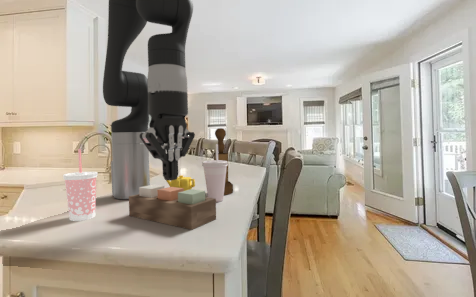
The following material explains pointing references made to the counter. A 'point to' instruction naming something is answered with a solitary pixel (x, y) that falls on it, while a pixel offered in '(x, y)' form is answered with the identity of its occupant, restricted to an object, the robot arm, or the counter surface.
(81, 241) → the counter surface
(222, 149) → the mortar and pestle
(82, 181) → the beverage cup
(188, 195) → the sage key
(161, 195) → the terracotta key
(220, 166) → the smoothie
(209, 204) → the key panel
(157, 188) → the offwhite key
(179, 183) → the teapot
